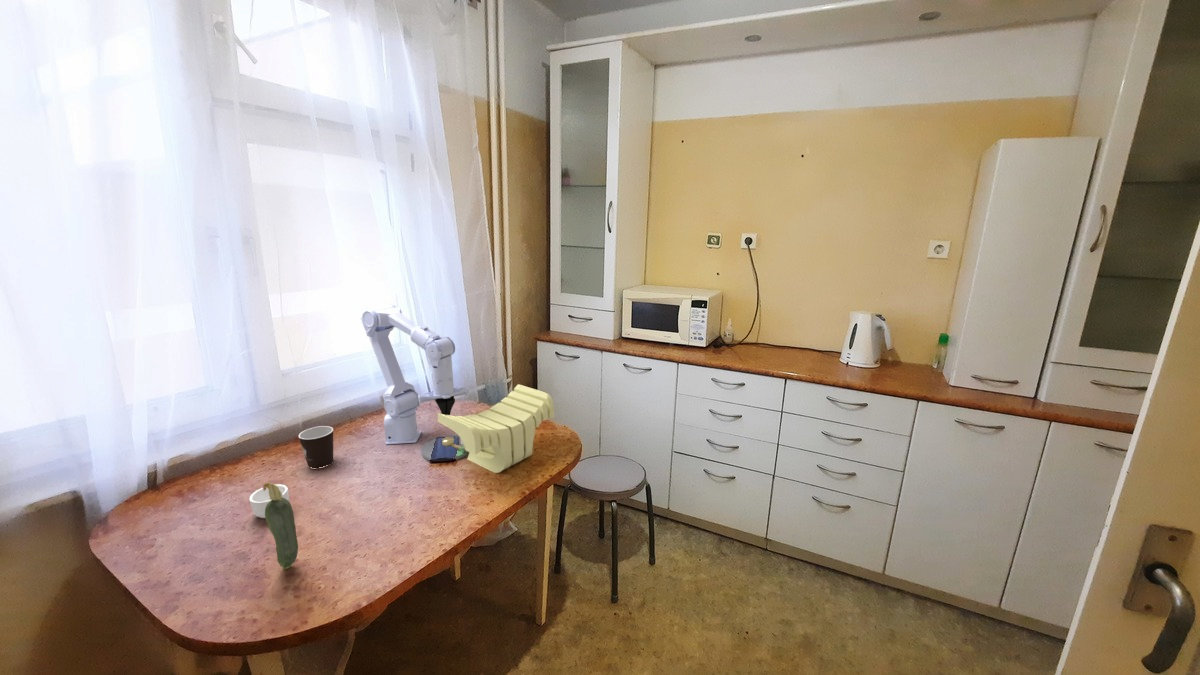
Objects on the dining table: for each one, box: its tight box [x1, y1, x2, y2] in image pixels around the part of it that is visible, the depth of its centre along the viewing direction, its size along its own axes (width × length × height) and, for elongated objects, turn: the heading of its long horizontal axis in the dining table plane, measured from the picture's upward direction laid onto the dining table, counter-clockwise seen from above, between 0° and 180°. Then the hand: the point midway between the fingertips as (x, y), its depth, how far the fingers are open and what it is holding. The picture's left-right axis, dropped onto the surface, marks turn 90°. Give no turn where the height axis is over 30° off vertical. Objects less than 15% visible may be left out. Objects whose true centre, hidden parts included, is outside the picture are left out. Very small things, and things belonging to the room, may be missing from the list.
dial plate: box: [420, 434, 469, 461], centre depth 143 cm, size 16×16×1 cm
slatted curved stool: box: [437, 383, 555, 474], centre depth 136 cm, size 30×16×18 cm, turn 143°
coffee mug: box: [298, 425, 334, 468], centre depth 134 cm, size 12×9×10 cm
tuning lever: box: [442, 437, 468, 452], centre depth 141 cm, size 10×4×5 cm, turn 62°
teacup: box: [248, 483, 290, 519], centre depth 112 cm, size 10×8×5 cm
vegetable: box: [262, 482, 299, 570], centre depth 91 cm, size 4×4×20 cm
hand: (446, 420), depth 140 cm, fingers closed
